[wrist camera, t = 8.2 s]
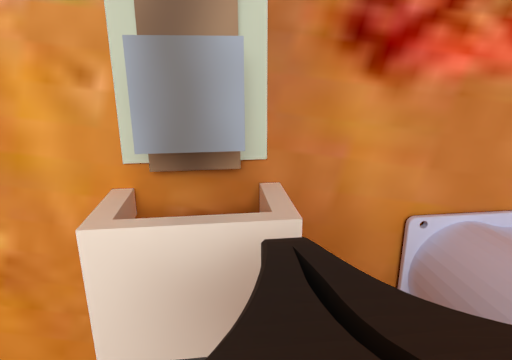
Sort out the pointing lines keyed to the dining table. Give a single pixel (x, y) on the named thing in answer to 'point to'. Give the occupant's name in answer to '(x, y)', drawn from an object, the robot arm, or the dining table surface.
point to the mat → (255, 74)
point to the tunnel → (173, 274)
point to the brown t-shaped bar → (186, 84)
